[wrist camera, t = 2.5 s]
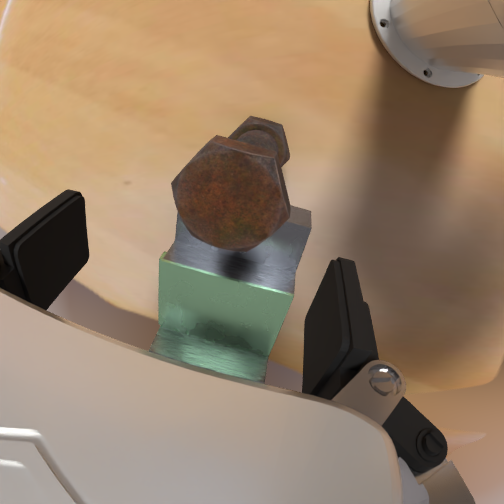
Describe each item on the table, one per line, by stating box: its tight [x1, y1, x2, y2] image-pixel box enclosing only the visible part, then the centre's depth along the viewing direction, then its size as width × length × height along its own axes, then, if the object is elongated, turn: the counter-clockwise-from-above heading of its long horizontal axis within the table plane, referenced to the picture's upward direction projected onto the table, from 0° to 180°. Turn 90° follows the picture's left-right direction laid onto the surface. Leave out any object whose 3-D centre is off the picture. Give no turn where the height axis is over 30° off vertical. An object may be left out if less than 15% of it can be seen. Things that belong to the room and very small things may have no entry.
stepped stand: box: [149, 205, 311, 384], centre depth 31 cm, size 20×12×10 cm, turn 168°
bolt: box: [171, 116, 291, 252], centre depth 20 cm, size 6×5×15 cm
